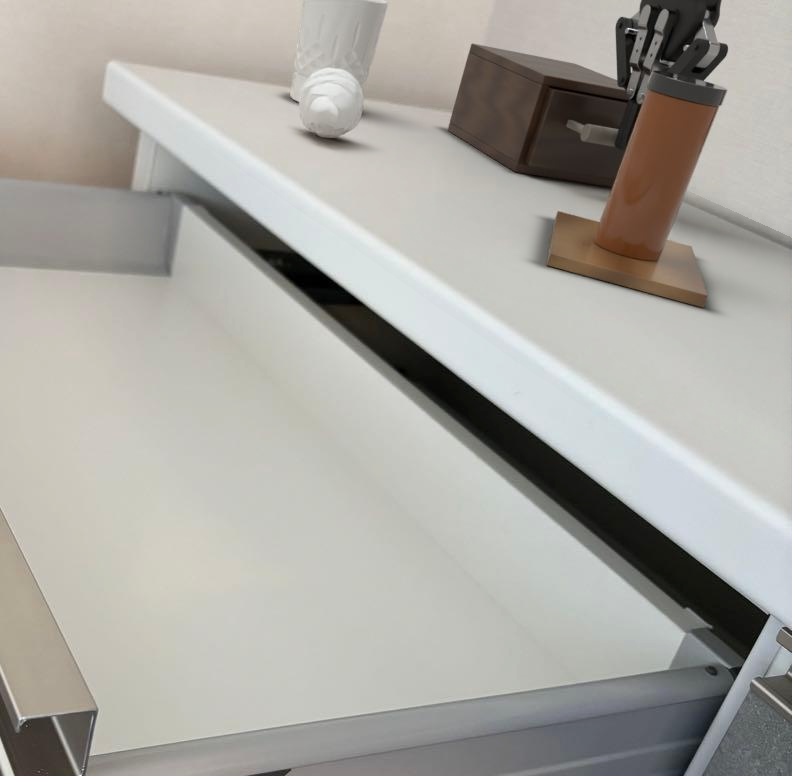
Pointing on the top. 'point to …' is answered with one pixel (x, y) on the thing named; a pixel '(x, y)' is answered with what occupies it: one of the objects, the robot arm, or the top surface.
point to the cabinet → (517, 104)
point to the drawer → (577, 134)
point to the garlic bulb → (331, 102)
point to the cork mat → (625, 262)
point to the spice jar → (658, 164)
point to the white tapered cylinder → (337, 38)
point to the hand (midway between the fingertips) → (628, 151)
